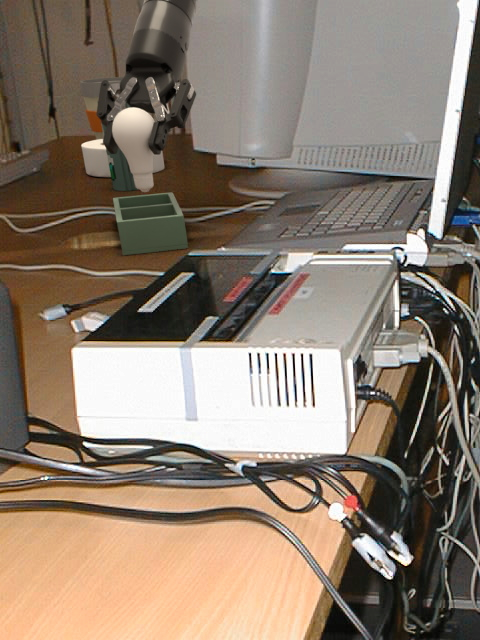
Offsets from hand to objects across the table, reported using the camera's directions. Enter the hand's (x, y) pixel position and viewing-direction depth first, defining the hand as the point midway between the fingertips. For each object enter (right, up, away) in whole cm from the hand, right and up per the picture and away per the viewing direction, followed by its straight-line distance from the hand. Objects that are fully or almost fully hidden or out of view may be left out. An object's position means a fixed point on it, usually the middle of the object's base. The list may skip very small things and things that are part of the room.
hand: (132, 150), depth 123 cm
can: (-13, +11, +46) cm, 49 cm away
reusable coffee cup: (-26, +32, +83) cm, 92 cm away
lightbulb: (+1, -4, +5) cm, 6 cm away
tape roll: (-18, +20, +62) cm, 68 cm away
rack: (0, -9, +11) cm, 14 cm away
